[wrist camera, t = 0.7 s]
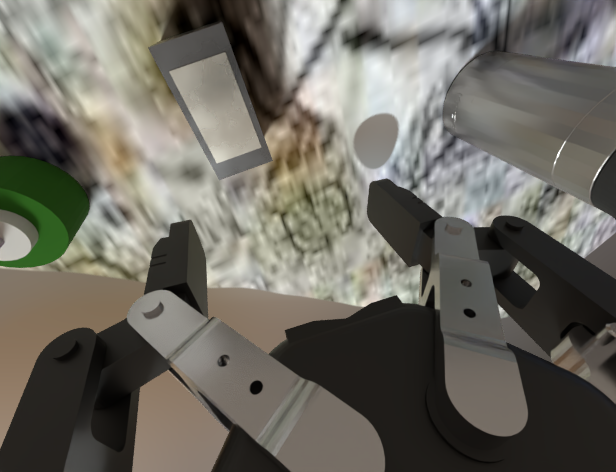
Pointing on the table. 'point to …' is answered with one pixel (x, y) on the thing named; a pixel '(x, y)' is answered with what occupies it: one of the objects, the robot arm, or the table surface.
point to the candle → (37, 211)
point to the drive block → (213, 97)
